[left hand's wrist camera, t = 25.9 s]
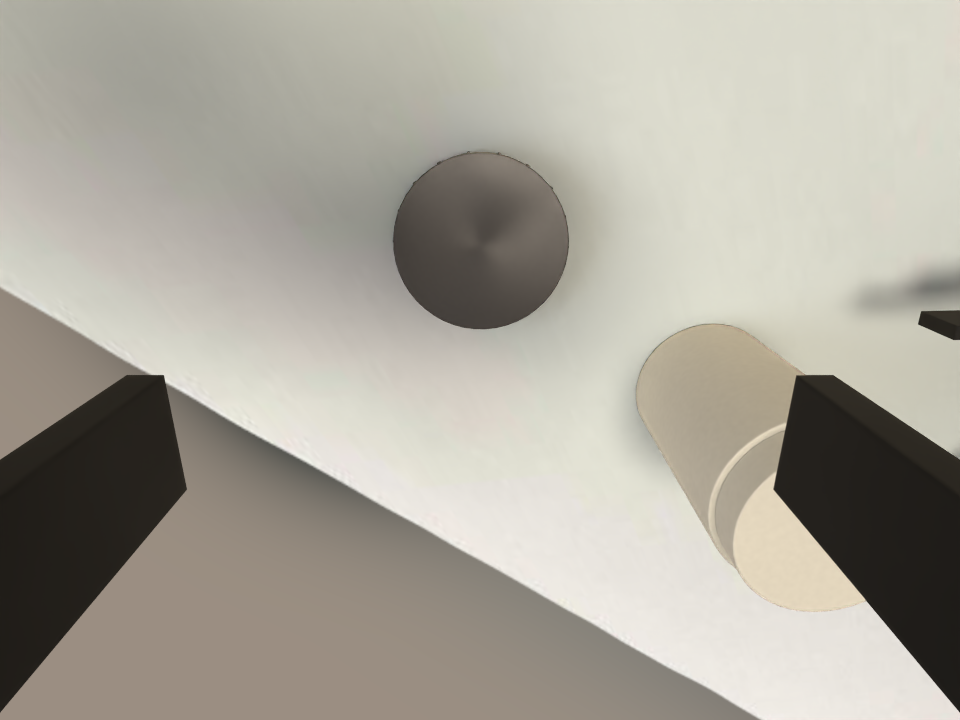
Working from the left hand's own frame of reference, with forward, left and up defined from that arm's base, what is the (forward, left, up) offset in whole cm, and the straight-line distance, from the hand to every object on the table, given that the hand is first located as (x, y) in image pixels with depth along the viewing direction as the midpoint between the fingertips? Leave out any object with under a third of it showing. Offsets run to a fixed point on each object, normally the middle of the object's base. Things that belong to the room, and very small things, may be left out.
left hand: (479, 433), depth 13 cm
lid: (0, 0, -25) cm, 25 cm away
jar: (+19, 0, -27) cm, 33 cm away
